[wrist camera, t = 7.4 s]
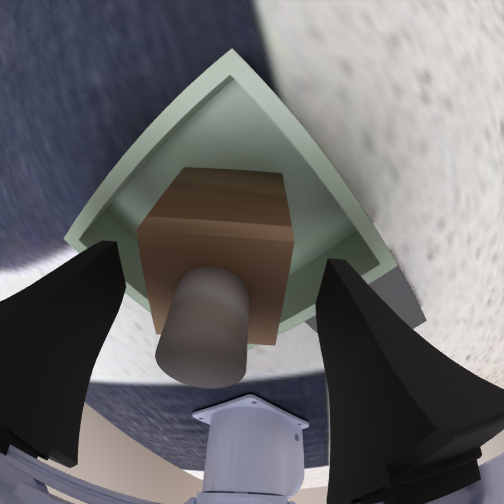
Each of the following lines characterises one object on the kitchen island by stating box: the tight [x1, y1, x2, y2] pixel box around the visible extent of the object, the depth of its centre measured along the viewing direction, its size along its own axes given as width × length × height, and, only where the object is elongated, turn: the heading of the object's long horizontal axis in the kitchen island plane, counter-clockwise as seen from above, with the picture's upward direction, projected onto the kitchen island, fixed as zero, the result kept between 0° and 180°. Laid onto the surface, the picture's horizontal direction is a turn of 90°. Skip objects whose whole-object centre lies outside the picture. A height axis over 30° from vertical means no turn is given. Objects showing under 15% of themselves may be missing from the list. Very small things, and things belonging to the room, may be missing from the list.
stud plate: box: [305, 266, 427, 333], centre depth 15 cm, size 6×6×5 cm
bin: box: [64, 49, 398, 350], centre depth 12 cm, size 10×10×4 cm
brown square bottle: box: [136, 167, 295, 388], centre depth 10 cm, size 4×4×8 cm
